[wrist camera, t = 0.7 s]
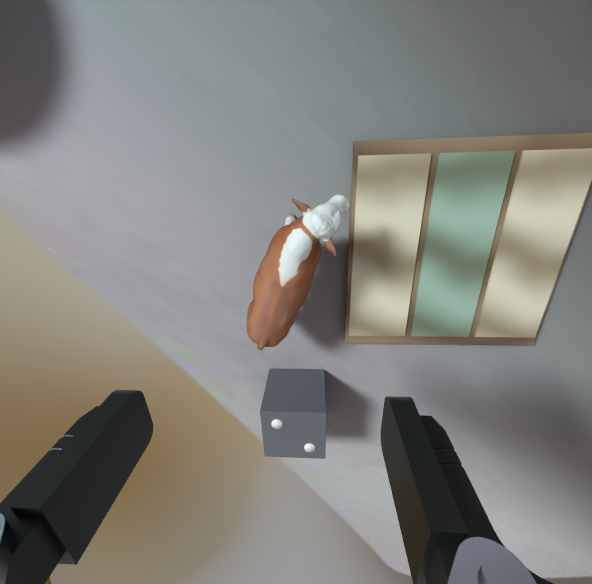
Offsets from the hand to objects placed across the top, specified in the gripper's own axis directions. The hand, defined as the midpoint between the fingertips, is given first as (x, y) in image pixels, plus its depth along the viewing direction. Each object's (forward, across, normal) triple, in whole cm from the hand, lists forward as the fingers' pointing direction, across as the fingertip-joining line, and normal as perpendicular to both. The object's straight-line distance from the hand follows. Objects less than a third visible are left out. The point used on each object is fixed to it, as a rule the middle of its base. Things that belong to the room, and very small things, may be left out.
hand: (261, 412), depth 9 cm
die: (+18, 0, +16) cm, 24 cm away
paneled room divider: (+18, -14, 0) cm, 23 cm away
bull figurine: (+19, 0, 0) cm, 19 cm away
